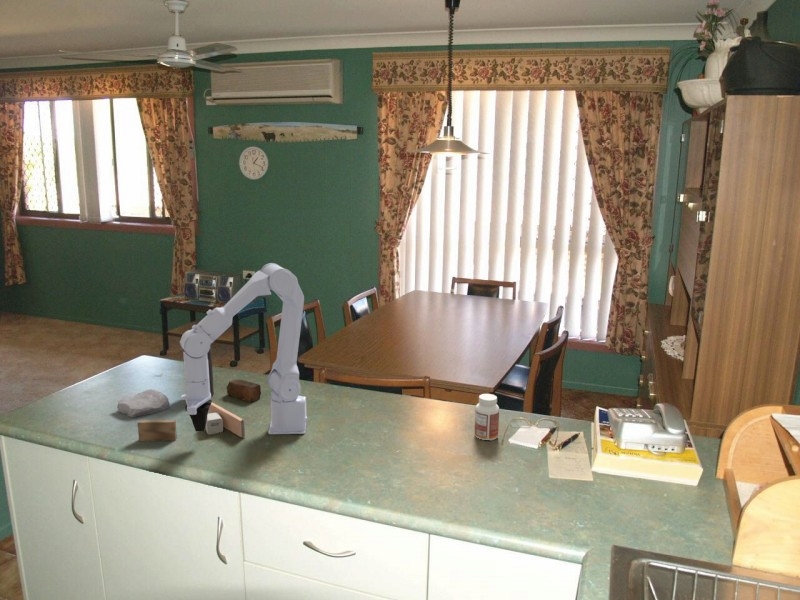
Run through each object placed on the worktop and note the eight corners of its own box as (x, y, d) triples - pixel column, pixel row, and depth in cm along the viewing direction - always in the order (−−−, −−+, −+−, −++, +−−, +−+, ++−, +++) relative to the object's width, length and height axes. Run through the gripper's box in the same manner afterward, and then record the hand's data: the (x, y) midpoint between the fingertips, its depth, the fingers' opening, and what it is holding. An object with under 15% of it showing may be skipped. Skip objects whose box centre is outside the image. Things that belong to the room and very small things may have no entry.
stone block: (173, 413, 179) (153, 398, 184) (173, 398, 177) (153, 384, 182) (135, 427, 170) (115, 412, 175) (135, 413, 168) (115, 397, 173)
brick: (261, 398, 186) (261, 384, 185) (252, 403, 183) (251, 388, 182) (236, 391, 191) (235, 377, 190) (226, 395, 188) (225, 380, 187)
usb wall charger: (207, 434, 161) (206, 420, 160) (202, 424, 167) (201, 410, 166) (223, 432, 163) (222, 417, 162) (217, 422, 169) (216, 408, 168)
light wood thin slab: (245, 436, 160) (245, 419, 159) (242, 438, 159) (241, 420, 158) (212, 417, 171) (211, 401, 170) (209, 418, 170) (208, 402, 169)
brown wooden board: (176, 438, 159) (175, 420, 158) (175, 440, 158) (174, 422, 157) (140, 438, 158) (139, 420, 157) (139, 441, 157) (137, 422, 156)
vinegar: (209, 400, 184) (206, 335, 179) (186, 399, 184) (182, 334, 179) (216, 391, 190) (213, 329, 186) (194, 391, 190) (191, 328, 186)
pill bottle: (495, 431, 167) (497, 392, 164) (499, 441, 161) (502, 401, 158) (472, 431, 166) (474, 392, 164) (476, 441, 160) (478, 401, 158)
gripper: (187, 368, 158) (191, 418, 161) (172, 389, 144) (176, 443, 147) (215, 368, 159) (218, 417, 162) (203, 389, 145) (206, 443, 148)
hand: (200, 430), depth 155 cm, fingers closed
